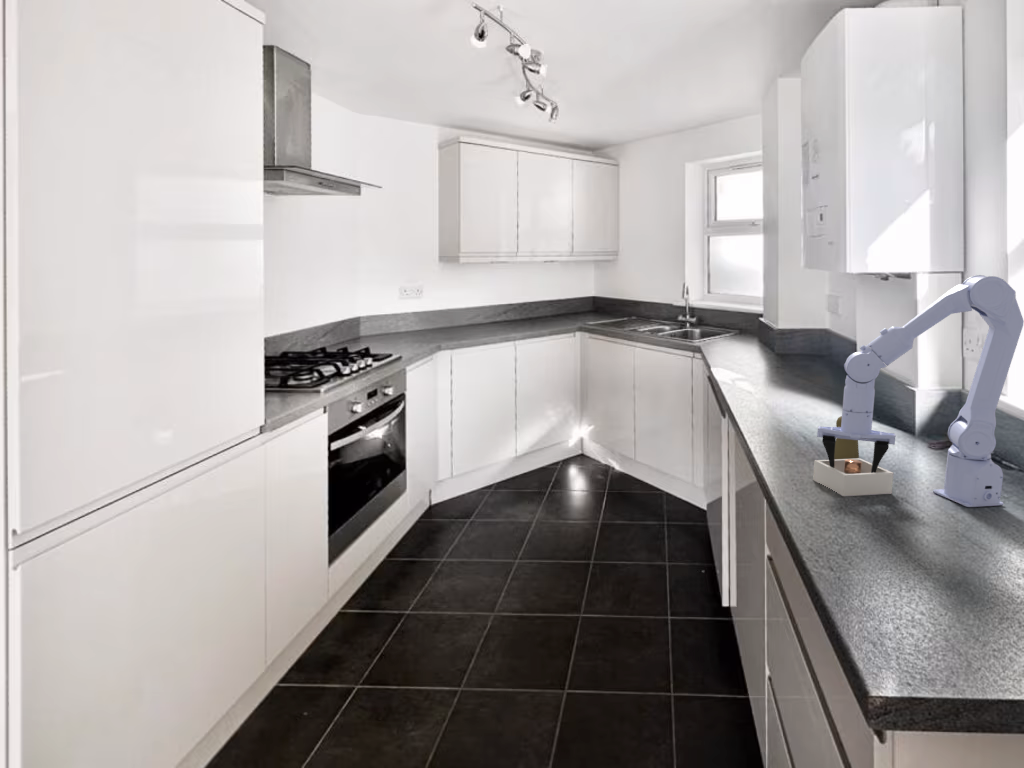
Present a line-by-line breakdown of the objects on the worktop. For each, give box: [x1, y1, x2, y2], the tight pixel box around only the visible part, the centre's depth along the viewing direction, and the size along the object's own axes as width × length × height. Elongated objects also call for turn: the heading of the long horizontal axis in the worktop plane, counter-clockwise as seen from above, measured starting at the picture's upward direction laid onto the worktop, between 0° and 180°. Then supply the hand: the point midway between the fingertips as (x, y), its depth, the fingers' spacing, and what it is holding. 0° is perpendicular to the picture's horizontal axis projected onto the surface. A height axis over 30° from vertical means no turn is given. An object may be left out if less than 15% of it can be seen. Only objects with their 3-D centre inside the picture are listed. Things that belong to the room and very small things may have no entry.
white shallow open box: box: [812, 457, 894, 497], centre depth 149 cm, size 13×11×4 cm
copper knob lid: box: [844, 459, 862, 474], centre depth 148 cm, size 9×9×5 cm
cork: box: [834, 415, 860, 459], centre depth 165 cm, size 6×6×11 cm
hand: (852, 473), depth 148 cm, fingers open, 7 cm apart
